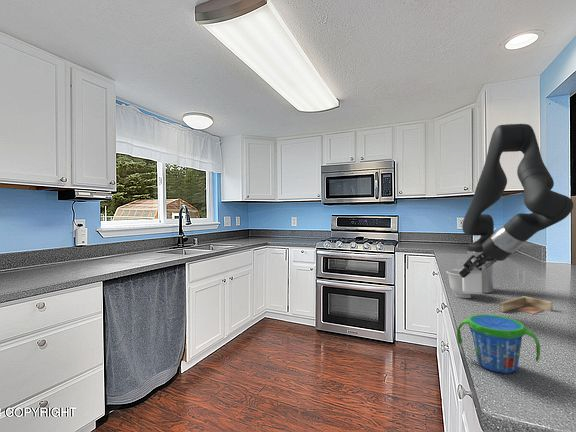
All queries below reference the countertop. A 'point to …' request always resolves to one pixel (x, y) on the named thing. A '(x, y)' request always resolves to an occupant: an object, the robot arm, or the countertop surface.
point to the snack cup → (497, 341)
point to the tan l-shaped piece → (526, 302)
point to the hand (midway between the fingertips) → (466, 274)
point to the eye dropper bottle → (473, 282)
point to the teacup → (457, 283)
